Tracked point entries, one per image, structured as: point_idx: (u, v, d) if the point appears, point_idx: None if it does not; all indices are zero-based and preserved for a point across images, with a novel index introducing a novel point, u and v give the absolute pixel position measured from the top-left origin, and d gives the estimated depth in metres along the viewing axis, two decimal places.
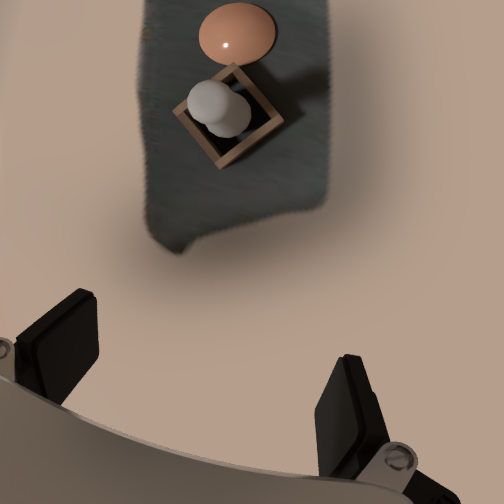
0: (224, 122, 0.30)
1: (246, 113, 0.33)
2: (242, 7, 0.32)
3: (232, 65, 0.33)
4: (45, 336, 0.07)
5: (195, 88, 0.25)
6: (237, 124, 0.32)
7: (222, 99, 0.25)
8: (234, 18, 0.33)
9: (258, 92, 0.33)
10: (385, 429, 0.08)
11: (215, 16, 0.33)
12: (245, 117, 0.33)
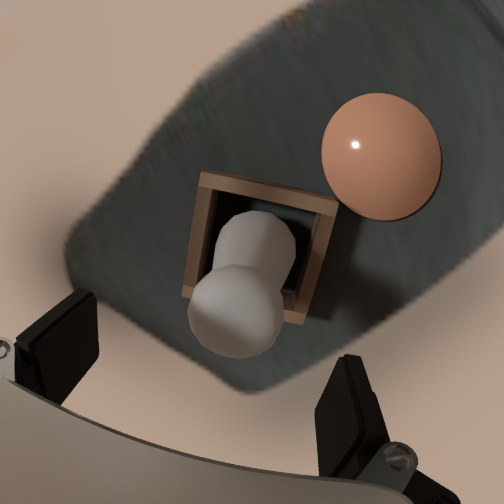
0: None
1: None
2: (427, 135, 0.21)
3: (331, 206, 0.21)
4: (45, 336, 0.07)
5: (235, 287, 0.13)
6: None
7: (251, 347, 0.13)
8: (404, 137, 0.21)
9: (316, 271, 0.22)
10: (385, 429, 0.08)
11: (390, 106, 0.20)
12: None
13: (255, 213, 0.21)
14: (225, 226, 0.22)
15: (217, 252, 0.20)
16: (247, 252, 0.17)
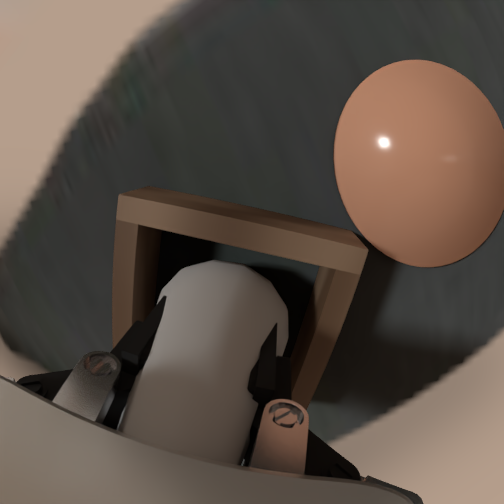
0: None
1: None
2: (493, 132, 0.11)
3: (355, 255, 0.11)
4: (150, 346, 0.09)
5: None
6: None
7: None
8: (464, 133, 0.11)
9: (322, 360, 0.13)
10: (290, 391, 0.09)
11: (442, 81, 0.11)
12: None
13: (215, 270, 0.12)
14: (165, 289, 0.12)
15: None
16: (179, 388, 0.07)
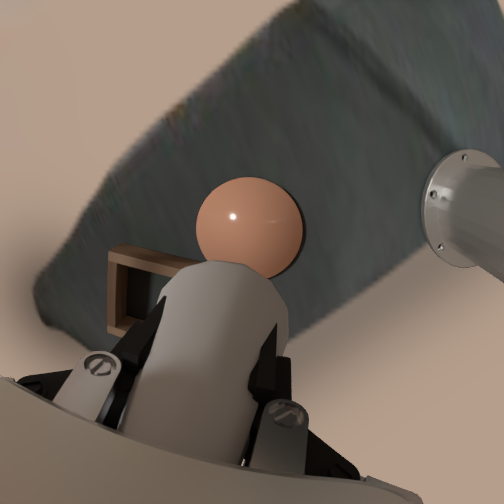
0: None
1: None
2: (288, 209, 0.29)
3: None
4: (150, 346, 0.09)
5: None
6: None
7: None
8: (265, 213, 0.29)
9: None
10: (290, 391, 0.09)
11: (252, 187, 0.28)
12: None
13: (215, 270, 0.12)
14: (165, 289, 0.12)
15: None
16: (179, 388, 0.07)
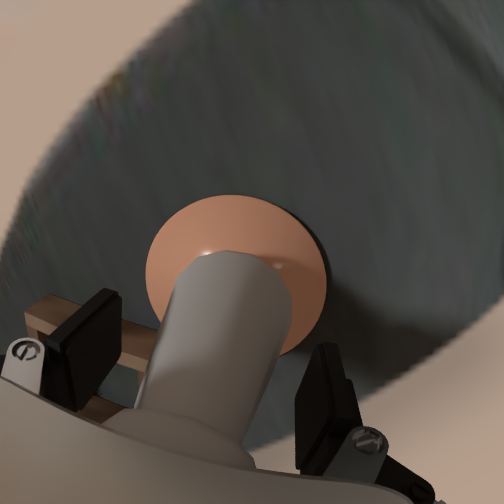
0: None
1: None
2: (302, 253, 0.16)
3: None
4: (75, 336, 0.08)
5: None
6: None
7: None
8: (262, 260, 0.16)
9: None
10: (359, 415, 0.08)
11: (238, 214, 0.16)
12: None
13: (227, 258, 0.13)
14: (181, 275, 0.14)
15: None
16: (196, 356, 0.08)
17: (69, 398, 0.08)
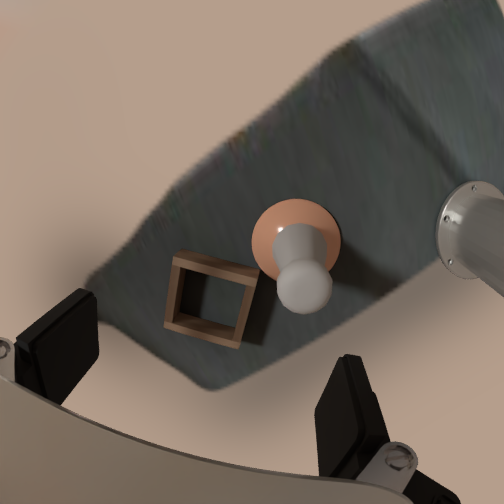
0: None
1: None
2: (329, 227, 0.34)
3: (253, 280, 0.34)
4: (45, 336, 0.07)
5: (310, 270, 0.22)
6: None
7: (314, 305, 0.23)
8: None
9: (244, 318, 0.36)
10: (385, 429, 0.08)
11: (302, 208, 0.34)
12: None
13: (302, 225, 0.31)
14: (281, 232, 0.32)
15: (280, 250, 0.29)
16: (305, 251, 0.27)
17: None
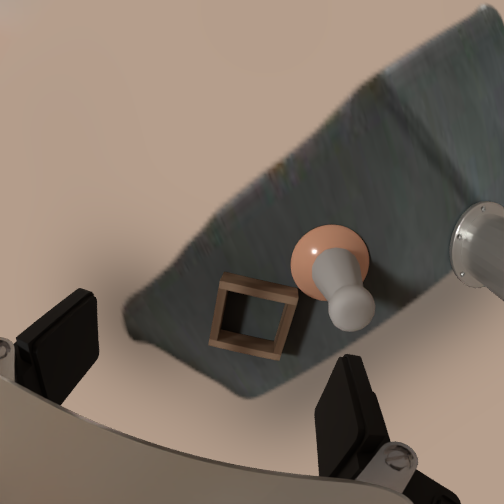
0: None
1: None
2: (360, 249, 0.38)
3: (294, 299, 0.37)
4: (45, 336, 0.07)
5: (358, 296, 0.26)
6: None
7: (361, 324, 0.26)
8: None
9: (286, 333, 0.39)
10: (385, 429, 0.08)
11: (336, 233, 0.37)
12: None
13: (339, 250, 0.35)
14: (320, 257, 0.35)
15: (322, 274, 0.33)
16: (348, 276, 0.30)
17: None
